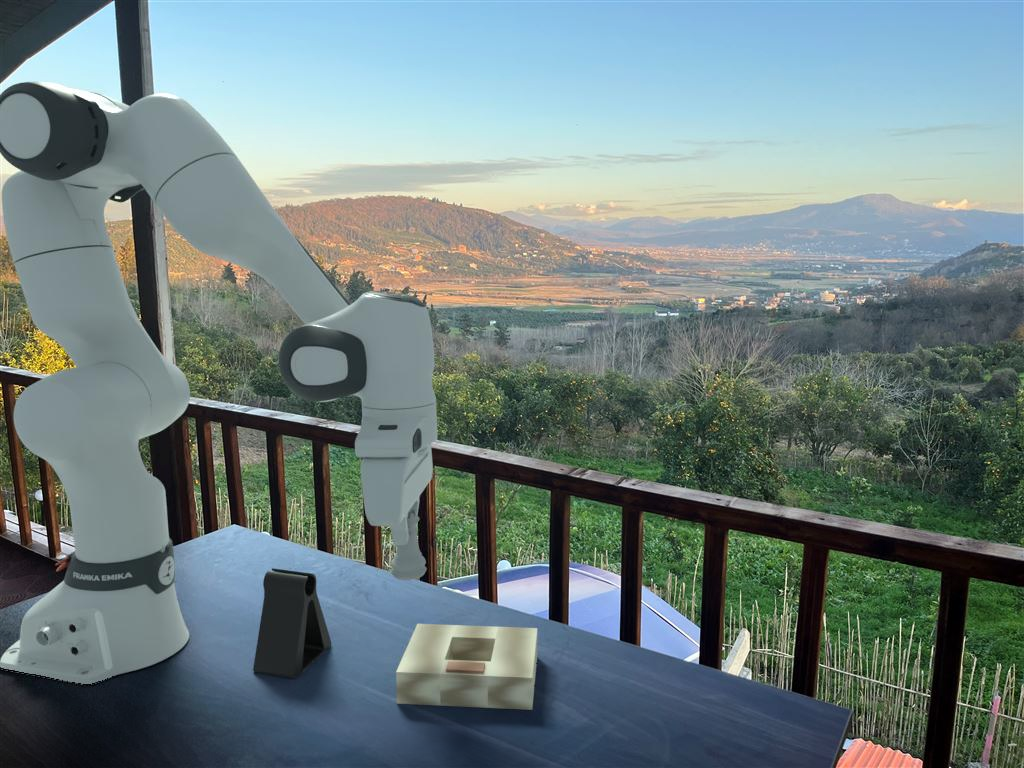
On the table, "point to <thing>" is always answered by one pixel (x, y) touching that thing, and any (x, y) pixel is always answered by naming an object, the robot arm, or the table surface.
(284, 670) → the phone stand
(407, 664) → the socket block
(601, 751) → the table surface
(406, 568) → the rook chess piece
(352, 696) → the table surface
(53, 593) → the robot arm
